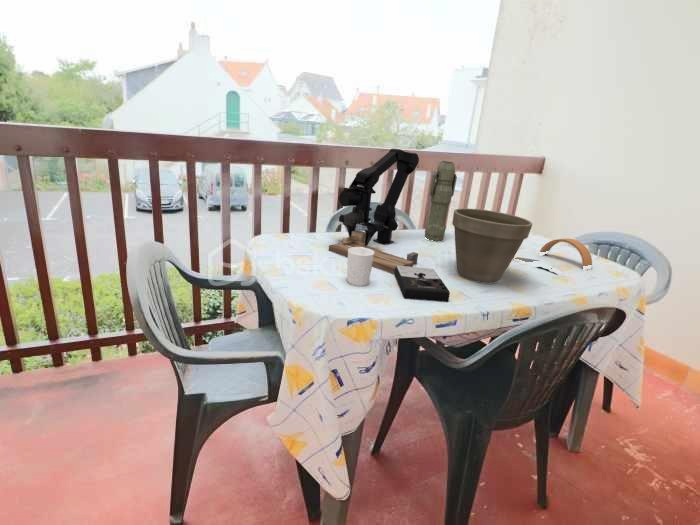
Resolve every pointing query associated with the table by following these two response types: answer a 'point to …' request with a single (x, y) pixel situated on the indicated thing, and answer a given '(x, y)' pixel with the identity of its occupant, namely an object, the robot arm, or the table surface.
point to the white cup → (359, 265)
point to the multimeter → (421, 284)
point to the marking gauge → (356, 237)
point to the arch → (578, 245)
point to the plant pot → (487, 242)
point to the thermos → (440, 200)
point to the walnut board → (378, 257)
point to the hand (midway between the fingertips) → (358, 243)
